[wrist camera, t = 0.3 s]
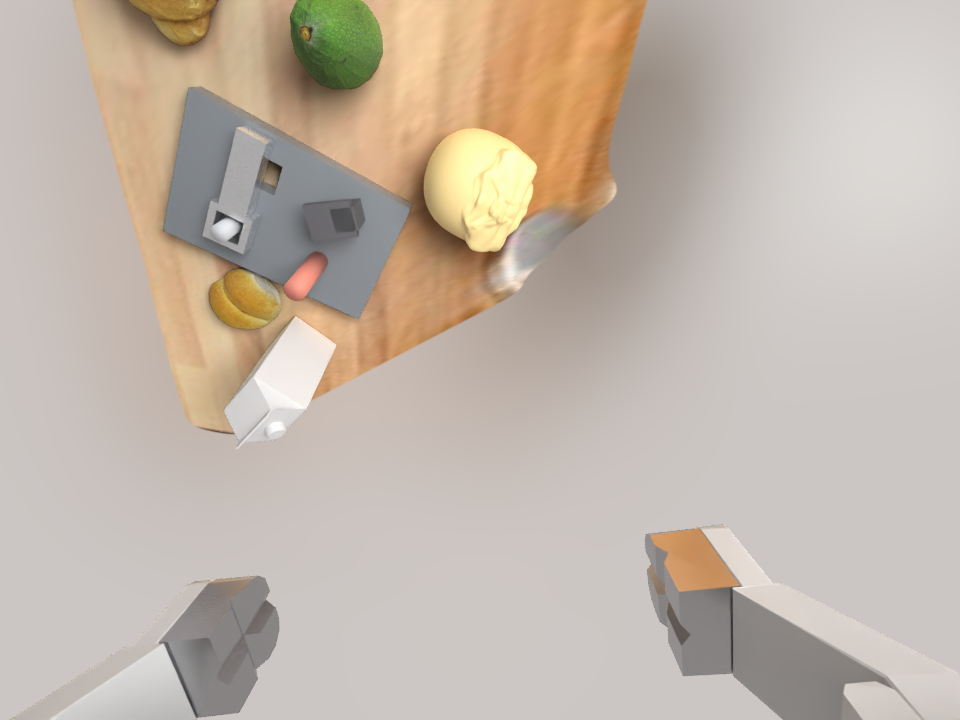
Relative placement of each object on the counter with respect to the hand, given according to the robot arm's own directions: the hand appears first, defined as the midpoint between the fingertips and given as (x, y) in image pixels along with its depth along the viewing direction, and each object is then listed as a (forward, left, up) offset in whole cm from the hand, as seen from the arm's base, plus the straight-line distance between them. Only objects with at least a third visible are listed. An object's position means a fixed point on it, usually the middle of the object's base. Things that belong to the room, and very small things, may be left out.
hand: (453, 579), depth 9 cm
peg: (+19, -11, -49) cm, 54 cm away
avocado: (-4, -16, -51) cm, 54 cm away
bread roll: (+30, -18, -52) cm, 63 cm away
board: (+16, -16, -51) cm, 56 cm away
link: (+15, -21, -49) cm, 55 cm away
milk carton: (+34, -9, -51) cm, 63 cm away
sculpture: (+1, +2, -51) cm, 52 cm away
